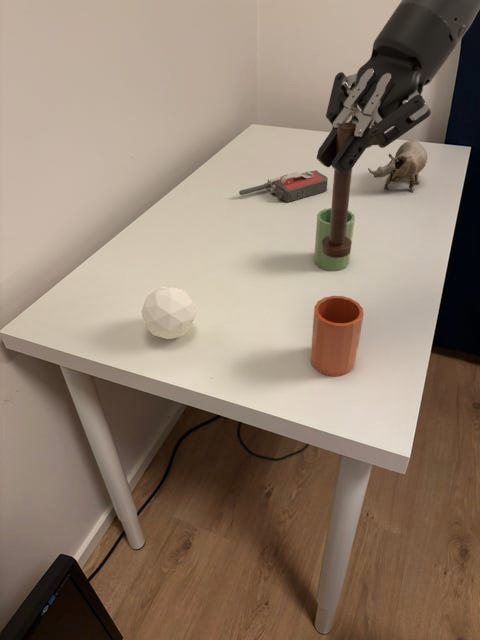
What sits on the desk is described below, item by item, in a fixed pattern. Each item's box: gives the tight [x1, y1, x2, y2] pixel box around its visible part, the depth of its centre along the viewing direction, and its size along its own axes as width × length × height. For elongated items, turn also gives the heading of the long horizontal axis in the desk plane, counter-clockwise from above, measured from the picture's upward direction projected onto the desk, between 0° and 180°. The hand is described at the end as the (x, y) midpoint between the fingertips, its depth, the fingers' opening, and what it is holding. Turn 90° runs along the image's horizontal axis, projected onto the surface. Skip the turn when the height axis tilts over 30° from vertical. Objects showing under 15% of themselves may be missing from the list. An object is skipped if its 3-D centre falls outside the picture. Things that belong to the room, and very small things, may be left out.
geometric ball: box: [140, 286, 197, 340], centre depth 72 cm, size 8×8×8 cm
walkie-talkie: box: [238, 169, 329, 203], centre depth 108 cm, size 9×4×20 cm
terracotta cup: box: [310, 295, 365, 377], centre depth 65 cm, size 6×6×9 cm
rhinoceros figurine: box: [367, 138, 428, 193], centre depth 108 cm, size 8×14×15 cm
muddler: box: [321, 122, 356, 258], centre depth 58 cm, size 4×4×16 cm
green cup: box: [313, 207, 356, 272], centre depth 85 cm, size 6×6×9 cm
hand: (329, 166), depth 55 cm, fingers closed on muddler, 2 cm apart
